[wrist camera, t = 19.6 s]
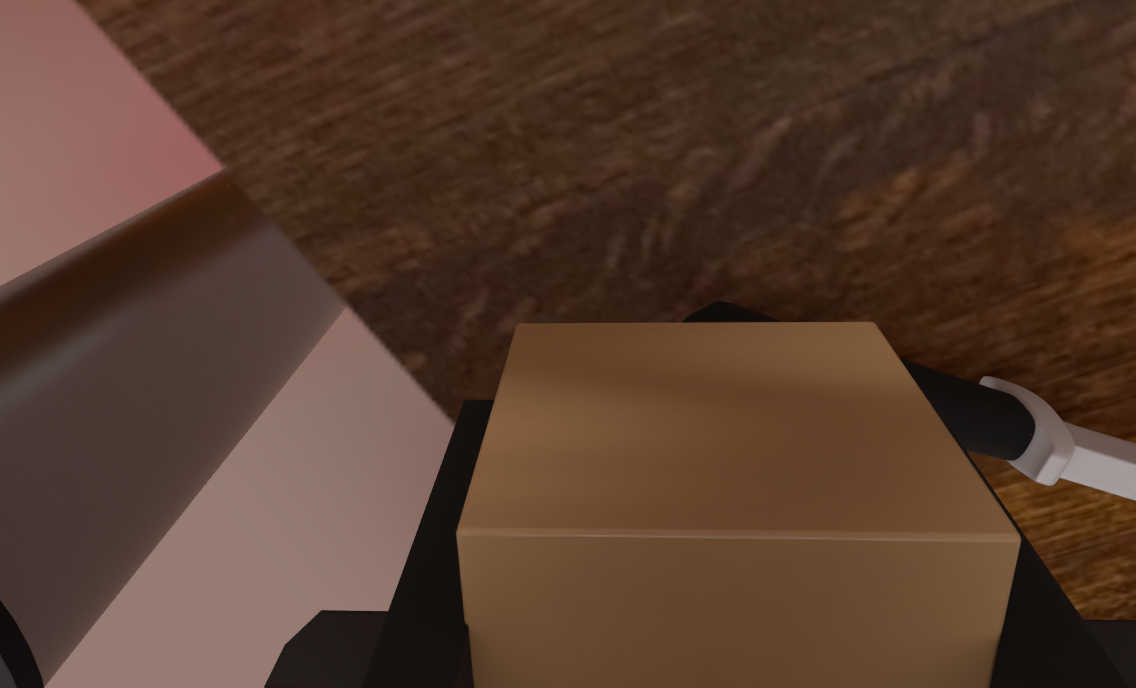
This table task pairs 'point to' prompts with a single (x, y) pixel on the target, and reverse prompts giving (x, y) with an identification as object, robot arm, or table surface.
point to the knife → (1003, 423)
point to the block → (726, 516)
